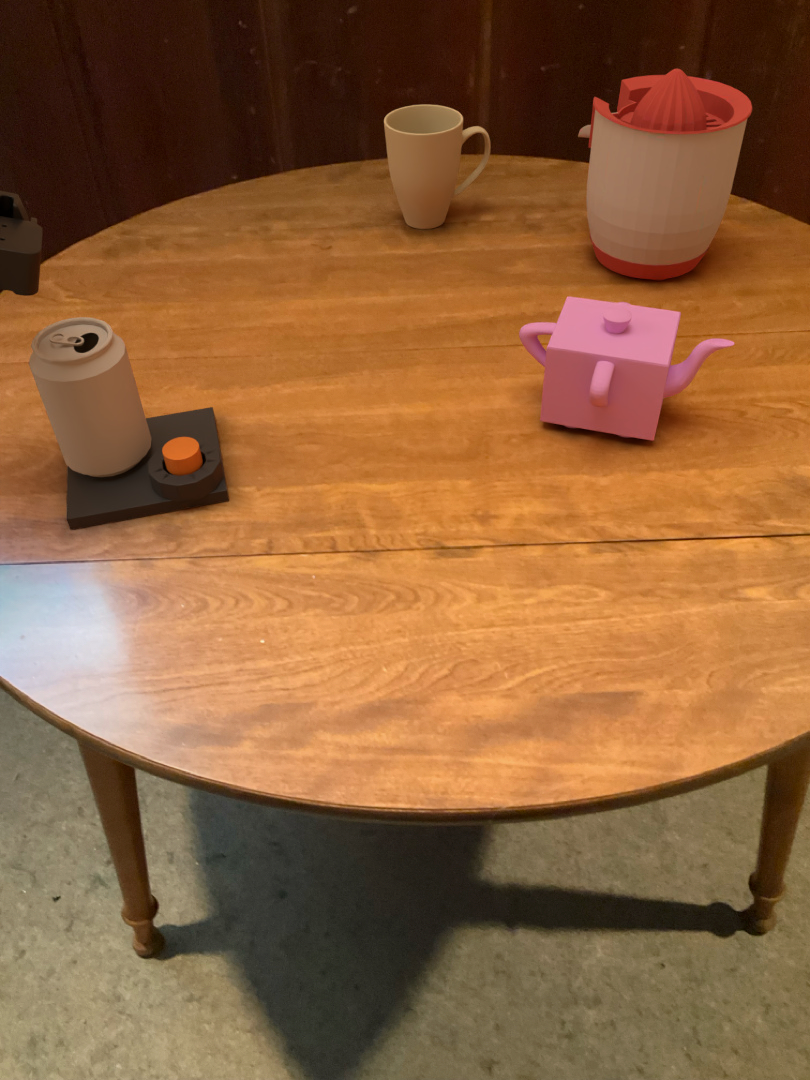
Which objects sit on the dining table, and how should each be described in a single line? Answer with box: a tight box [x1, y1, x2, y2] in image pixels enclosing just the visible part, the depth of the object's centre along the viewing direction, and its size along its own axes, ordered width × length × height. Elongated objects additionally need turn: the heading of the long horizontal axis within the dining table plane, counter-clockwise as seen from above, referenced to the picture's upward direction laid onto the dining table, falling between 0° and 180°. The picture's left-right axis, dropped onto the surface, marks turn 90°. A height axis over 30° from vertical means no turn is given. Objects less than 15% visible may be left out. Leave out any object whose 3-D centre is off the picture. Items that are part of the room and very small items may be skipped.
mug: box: [383, 104, 492, 230], centre depth 109 cm, size 11×10×12 cm
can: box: [28, 316, 151, 477], centre depth 76 cm, size 8×8×12 cm
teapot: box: [518, 296, 735, 442], centre depth 81 cm, size 18×14×10 cm
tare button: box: [162, 437, 203, 476], centre depth 76 cm, size 3×3×2 cm
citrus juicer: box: [577, 68, 753, 281], centre depth 98 cm, size 16×17×20 cm
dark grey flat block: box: [65, 406, 230, 530], centre depth 79 cm, size 13×12×3 cm
